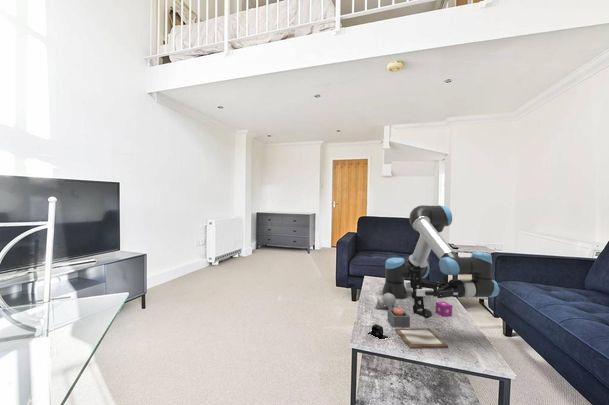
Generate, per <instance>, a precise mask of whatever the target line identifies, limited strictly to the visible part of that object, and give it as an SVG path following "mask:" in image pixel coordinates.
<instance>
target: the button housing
mask: <svg viewBox="0 0 609 405" xmlns="http://www.w3.org/2000/svg"><path fill="white" fill-rule="evenodd" d="M387 321H388V322H389V324H390V325H391V326H392V327H393V328H411V316H410V315H409V314H408V313H407V312H406V311H405V310H404V316H395V315H394V314H393V309H392V310H388V309H387Z"/></svg>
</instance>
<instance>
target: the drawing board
mask: <svg viewBox="0 0 609 405" xmlns="http://www.w3.org/2000/svg"><path fill="white" fill-rule="evenodd" d="M395 332H396V333H397V335H398V336H399V337H400V338H401V340H403V342H404V344H405V345H406V346H407V347H408V348H409V349H448V348H449V345H448V344H447V342H444V341H443V340H442V338H440V337H439V336H438V335H437V334H436V333H435V332H433V330H431V329H430V328H426V327H424V328H418V327H417V328H395Z"/></svg>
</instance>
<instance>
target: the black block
mask: <svg viewBox="0 0 609 405" xmlns="http://www.w3.org/2000/svg"><path fill="white" fill-rule="evenodd" d="M371 330H372V331H371V332H369V333H368V334H367V335H369V334H371V335H373V336H375V337H378V338H379V339H385V338H388V337H389V338H388V339H390V338H391V337H390V336H388V335H386V334H384V327H383V326H382V325H380V324H377V323H375V324H372V326H371ZM383 334H384V335H383ZM371 335H370V336H371ZM373 336H372V337H373ZM375 337H374V338H375ZM379 339H378V340H379Z"/></svg>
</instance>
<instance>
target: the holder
mask: <svg viewBox="0 0 609 405" xmlns="http://www.w3.org/2000/svg"><path fill="white" fill-rule="evenodd" d="M417 270H418V271H417ZM409 273H410V274H411V278H410V279H409V282H410V284H411V288H410V289H412V292H411V298H412V299H413V302H414V303H413V305H412V312H413V314H415V315H417V316H420V317H423V318H424V319H425V320H427V319H430V317H432V315H433V312H432V311H431V310H430V309H428V308H425V304H424V302H425V301H424V296H416V292H417V289H423V288H422V281H421V280H422V278H421V268H420V266H415V267H411V268H410V271H409ZM414 274H416V275H414ZM417 285H419V287H416V286H417ZM419 302H420V303H419ZM420 309H421V310H420Z"/></svg>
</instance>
